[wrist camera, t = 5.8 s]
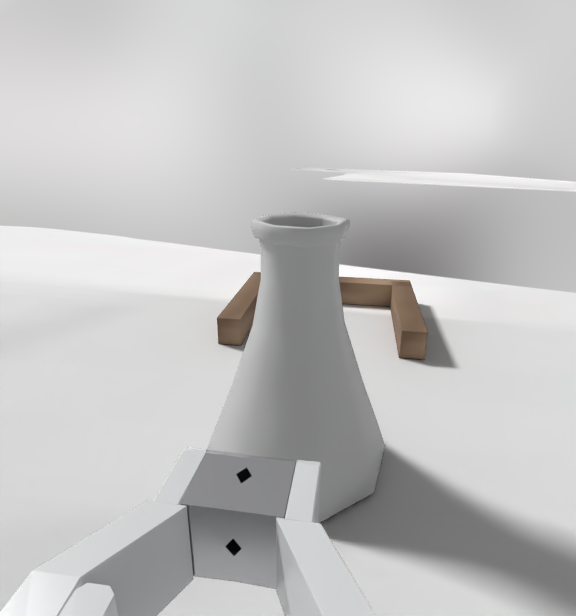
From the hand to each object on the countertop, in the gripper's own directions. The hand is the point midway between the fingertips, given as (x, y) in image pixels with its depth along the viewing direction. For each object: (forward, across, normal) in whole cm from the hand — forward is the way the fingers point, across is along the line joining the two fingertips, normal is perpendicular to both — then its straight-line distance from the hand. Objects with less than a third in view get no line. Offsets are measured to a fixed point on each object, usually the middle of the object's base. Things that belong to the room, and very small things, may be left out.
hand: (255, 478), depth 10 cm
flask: (+8, 0, -6) cm, 9 cm away
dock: (+22, 0, -6) cm, 23 cm away
